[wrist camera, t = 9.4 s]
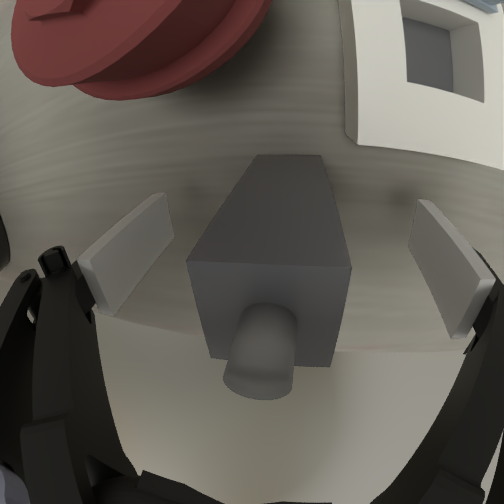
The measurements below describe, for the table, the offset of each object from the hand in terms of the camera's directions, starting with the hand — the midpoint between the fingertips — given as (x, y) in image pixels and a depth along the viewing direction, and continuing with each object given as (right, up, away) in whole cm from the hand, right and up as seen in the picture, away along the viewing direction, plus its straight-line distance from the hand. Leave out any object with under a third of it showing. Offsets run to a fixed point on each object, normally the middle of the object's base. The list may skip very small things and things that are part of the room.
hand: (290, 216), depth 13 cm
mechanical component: (-5, +12, -1) cm, 13 cm away
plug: (+1, +3, +4) cm, 5 cm away
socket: (+8, +12, -4) cm, 15 cm away
